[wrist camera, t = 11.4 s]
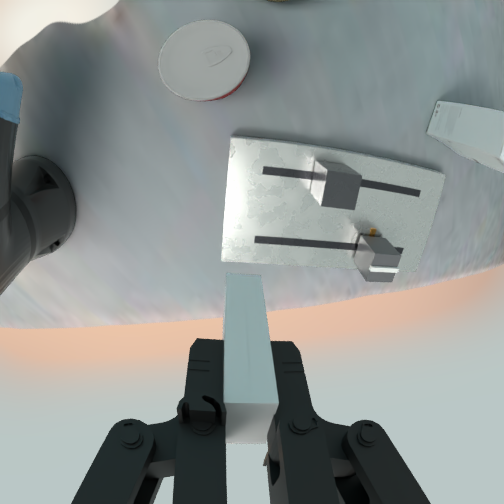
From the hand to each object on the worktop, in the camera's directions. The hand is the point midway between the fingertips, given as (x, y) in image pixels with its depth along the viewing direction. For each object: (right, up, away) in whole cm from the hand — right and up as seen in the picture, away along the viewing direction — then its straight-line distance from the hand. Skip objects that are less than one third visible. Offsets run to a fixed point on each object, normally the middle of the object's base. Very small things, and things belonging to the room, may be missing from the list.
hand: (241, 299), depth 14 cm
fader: (+17, +3, +26) cm, 31 cm away
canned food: (-4, +24, +17) cm, 29 cm away
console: (+12, +8, +26) cm, 30 cm away
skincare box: (+30, +20, +21) cm, 42 cm away
